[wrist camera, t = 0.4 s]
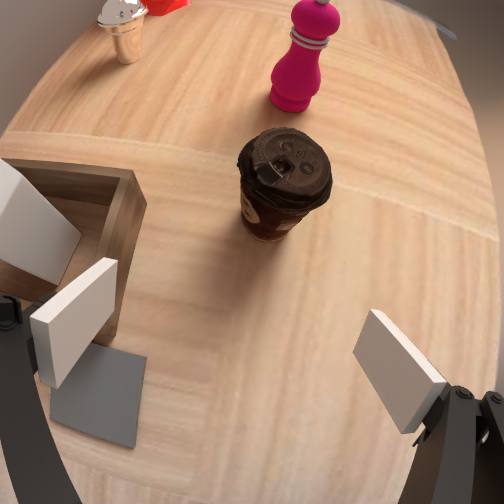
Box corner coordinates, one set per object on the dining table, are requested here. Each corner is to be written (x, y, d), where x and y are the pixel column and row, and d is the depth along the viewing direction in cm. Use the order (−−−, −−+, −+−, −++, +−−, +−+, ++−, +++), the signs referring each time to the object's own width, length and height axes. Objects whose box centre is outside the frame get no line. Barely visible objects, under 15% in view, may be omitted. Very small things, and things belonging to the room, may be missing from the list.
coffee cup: (228, 249, 35) (236, 198, 23) (230, 184, 38) (239, 115, 25) (302, 252, 36) (345, 206, 24) (299, 189, 39) (333, 126, 26)
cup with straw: (161, 46, 45) (155, -46, 26) (137, 75, 42) (119, -26, 23) (123, 42, 44) (109, -42, 25) (97, 70, 42) (72, -20, 23)
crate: (115, 335, 31) (88, 332, 23) (-20, 289, 29) (-56, 276, 22) (147, 204, 36) (132, 170, 28) (13, 184, 34) (-14, 157, 26)
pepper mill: (270, 79, 44) (296, -24, 25) (313, 90, 45) (352, -8, 26) (262, 108, 42) (290, -6, 23) (310, 120, 42) (356, 13, 23)
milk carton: (22, 263, 31) (-76, 206, 13) (45, 215, 34) (-37, 134, 15) (59, 286, 31) (-47, 234, 13) (83, 234, 34) (0, 149, 15)
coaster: (135, 446, 27) (133, 448, 27) (52, 417, 27) (49, 418, 26) (146, 357, 31) (145, 357, 30) (61, 332, 30) (58, 332, 29)
